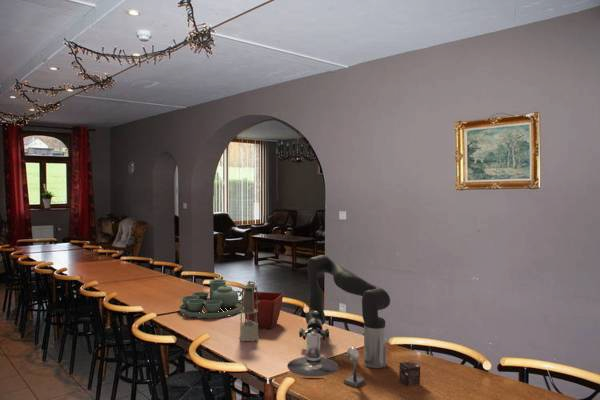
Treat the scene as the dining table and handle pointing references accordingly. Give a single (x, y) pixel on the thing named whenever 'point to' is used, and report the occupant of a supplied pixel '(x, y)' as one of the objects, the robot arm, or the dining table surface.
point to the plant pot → (266, 309)
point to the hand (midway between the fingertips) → (313, 337)
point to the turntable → (313, 367)
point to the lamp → (248, 327)
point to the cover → (313, 347)
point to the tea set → (212, 301)
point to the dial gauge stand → (353, 380)
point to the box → (409, 373)
